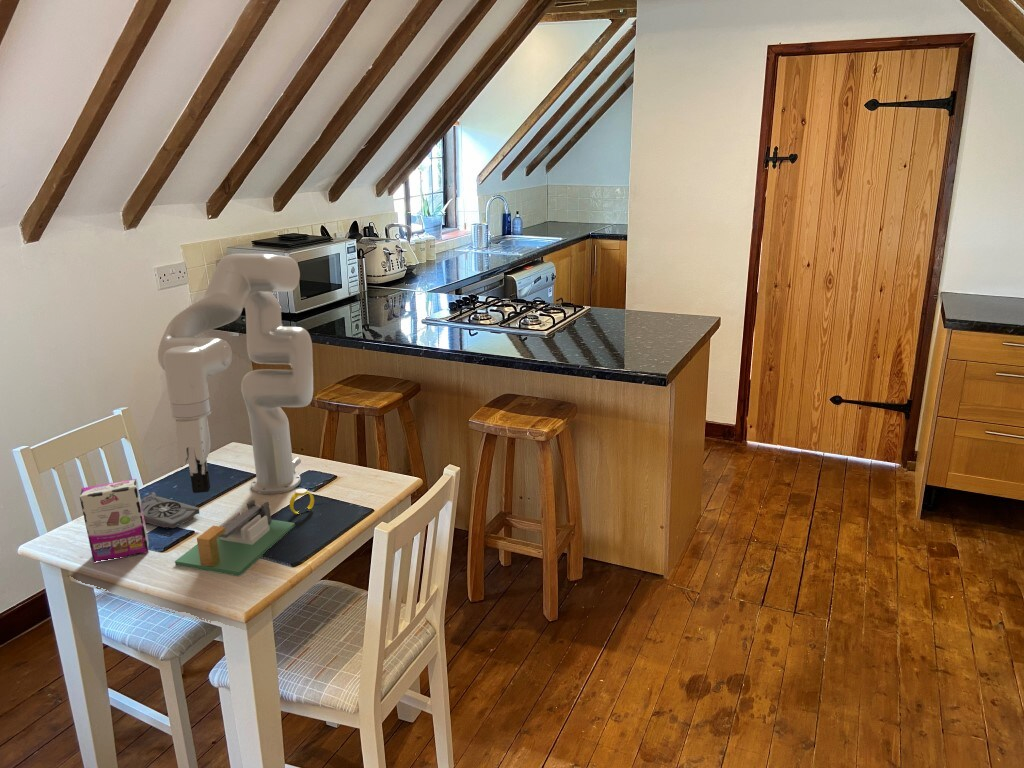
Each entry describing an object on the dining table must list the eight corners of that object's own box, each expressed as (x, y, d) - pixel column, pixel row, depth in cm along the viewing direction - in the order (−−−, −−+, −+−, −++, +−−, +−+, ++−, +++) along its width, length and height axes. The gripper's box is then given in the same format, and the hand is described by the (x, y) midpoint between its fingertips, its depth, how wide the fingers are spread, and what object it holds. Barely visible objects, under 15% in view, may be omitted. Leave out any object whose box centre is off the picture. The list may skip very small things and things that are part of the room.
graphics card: (111, 512, 185) (152, 490, 195) (114, 526, 186) (155, 503, 197) (163, 527, 178) (202, 504, 189) (165, 541, 180) (205, 517, 190)
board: (236, 518, 188) (233, 494, 186) (295, 526, 184) (292, 503, 182) (175, 565, 168) (171, 539, 166) (239, 576, 164) (236, 550, 162)
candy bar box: (149, 542, 177) (137, 477, 172) (149, 553, 173) (137, 486, 168) (94, 553, 173) (80, 486, 168) (92, 564, 169) (79, 496, 164)
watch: (310, 507, 194) (310, 485, 192) (316, 511, 192) (315, 489, 190) (288, 514, 190) (287, 491, 188) (293, 518, 188) (293, 495, 186)
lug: (217, 551, 171) (213, 525, 169) (228, 553, 171) (225, 527, 168) (200, 564, 166) (196, 538, 164) (212, 566, 165) (208, 539, 163)
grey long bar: (255, 507, 184) (254, 503, 183) (264, 508, 183) (263, 504, 183) (217, 536, 170) (216, 532, 170) (226, 538, 170) (225, 534, 169)
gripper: (178, 397, 163) (189, 478, 168) (162, 421, 149) (175, 508, 154) (215, 395, 164) (225, 475, 170) (204, 418, 150) (215, 504, 156)
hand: (201, 490), depth 162 cm, fingers closed
